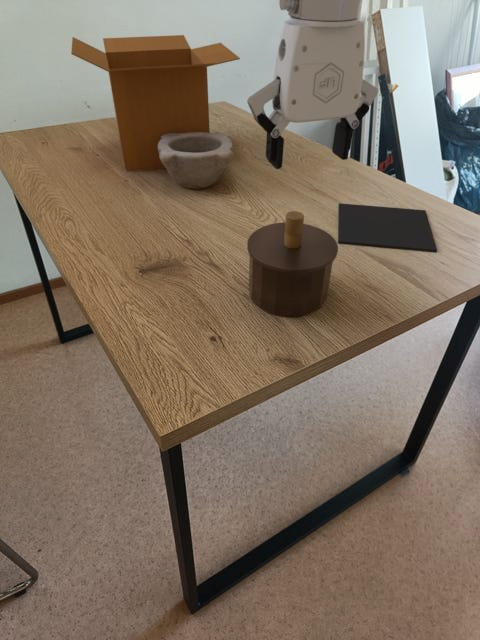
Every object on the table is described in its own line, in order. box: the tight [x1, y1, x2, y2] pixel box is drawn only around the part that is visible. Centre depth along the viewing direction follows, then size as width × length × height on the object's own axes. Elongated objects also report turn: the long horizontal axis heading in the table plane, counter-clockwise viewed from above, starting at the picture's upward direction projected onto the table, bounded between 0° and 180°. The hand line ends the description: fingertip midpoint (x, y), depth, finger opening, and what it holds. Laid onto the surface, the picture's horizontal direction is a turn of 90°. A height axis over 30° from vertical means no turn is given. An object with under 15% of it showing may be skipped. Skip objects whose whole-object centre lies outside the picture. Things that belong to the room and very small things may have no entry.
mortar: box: [158, 132, 235, 190], centre depth 104 cm, size 17×17×9 cm
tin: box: [248, 255, 334, 318], centre depth 71 cm, size 13×13×8 cm
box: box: [70, 34, 241, 172], centre depth 112 cm, size 36×40×26 cm
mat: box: [337, 203, 438, 253], centre depth 90 cm, size 18×16×1 cm
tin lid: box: [246, 210, 339, 273], centre depth 67 cm, size 14×14×6 cm
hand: (307, 160), depth 61 cm, fingers open, 9 cm apart
